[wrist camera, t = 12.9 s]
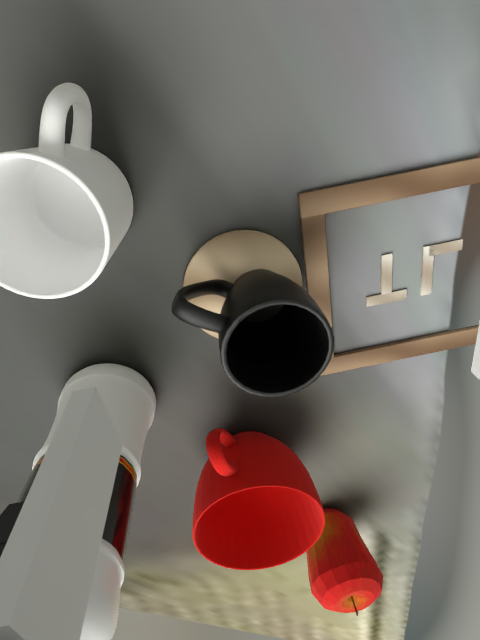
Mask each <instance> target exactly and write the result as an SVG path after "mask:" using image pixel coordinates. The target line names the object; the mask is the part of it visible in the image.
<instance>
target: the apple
mask: <svg viewBox="0 0 480 640" xmlns="http://www.w3.org/2000/svg"><path fill="white" fill-rule="evenodd" d="M324 513H325V525H324V529H323V532H322V534H321V536H320V537H319V539H318V540H317V541H316V543H315V544H314V545H313V546H312V547H311V548H310V549H308V550H307V551H306V552H307V561H308V574H309V581H310V586H311V591H312V594H313V595H314V596H315V598H316V599H317V600H318V601H319V602H320V604H321V605H322V606H323V607H324V608H325V609H328V610H331V611H336V612H344V613H350V612H356V615H357V616H358V611H360V610H363V609H365V608H366V607H368V606H369V605H371V604H372V603H373V602H374V601H375V600H376V599H377V598H378V597H379V596H380V594H381V591H382V581H383V575H382V573H381V571H380V569H379V567H378V565H377V563H376V561H375V560H374V558H373V557H372V555H371V554H370V552H369V550H368V548H367V547H366V545H365V543H364V542H363V540H362V538H361V536H360V534H359V532H358V530H357V528H356V526H355V524H354V522H353V520H352V518H350V517H349V516H347V515H346V514H344V513H342V512H341V511H339V510H337V509H333V508H325V509H324Z"/></svg>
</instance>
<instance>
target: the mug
mask: <svg viewBox="0 0 480 640" xmlns="http://www.w3.org/2000/svg"><path fill="white" fill-rule="evenodd" d="M204 295H218V296H222V297H224V298H226V299H225V301H224V304H223V306H222V309H221V313H220V314H218V313H215V312H212V311H209V310H206V309H203V308H201V307H199V306H196V305H194V304H192V303H190V302H189V301H188V300H190V299H193V298H196V297H200V296H204ZM172 313H173V314H174V316H176V317H177V318H179V319H180V320H182V321H184V322H186V323H188V324H190V325H193V326H196V327H199V328H202V329H205V330H209V331H212V332H216V333H218V337H219V347H220V357H221V363H222V366H223V368H224V371H225V373H226V374H227V375H228V377H229V378H230V380H231V381H232V382H233V383H234V384H236V385H237V386H238V387H239V388H240V389H242V390H244V391H247V392H249V393H251V394H255V395H258V396H265V397H277V396H285V395H289V394H292V393H295V392H298V391H300V390H302V389H304V388H306V387H307V386H309V385H310V384H311V383H313V382H314V381H315V380H317V379H318V377H319V376H320V375H321V374H322V373H323V372H324V371H325V369H326V367H327V366H328V364H329V362H330V360H331V357H332V354H333V349H334V336H333V331H332V327H331V325H330V323H329V321H328V320H327V318H326V316H325V315H324V313H323V312H322V310H321V309H320V307H319V306H318V304H317V303H316V302H315V300H314V299H313V298H312V297H311V296H310V295H309V294H308V293H307V292H306V291H305V290H304V289H303V288H302V287H301V286H299V285H298V284H297V283H295V282H293V281H292V280H290V279H289V278H287V277H285V276H283V275H280V274H277V273H275V272H273V271H270V270H265V269H256V270H252V271H248V272H246V273H244V274H243V275H241V276H240V277H239V278H238V279H237V280H236V281H235V282H234V284H233V283H231V282H229V281H226V280H221V279H214V280H208V281H203V282H198V283H194V284H191V285H187V286H185V287H183V288H182V289H180V290H179V291H178V292H177V294H176V296H175V298H174V300H173V303H172Z"/></svg>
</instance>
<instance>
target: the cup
mask: <svg viewBox="0 0 480 640" xmlns="http://www.w3.org/2000/svg"><path fill="white" fill-rule="evenodd" d="M71 105H73V128H72V135H71V142H70V144H65V126H66V118H67V113H68V110H69V108H70V106H71ZM91 134H92V111H91V105H90V101H89V98H88V96H87V94H86V92H85V91H84V90H83V89H82V88H81V87H80V86H78V85H76V84H74V83H63V84H60V85H58V86H56V87H55V88H54V89H53V90H52V91H51V92H50V94H49V95H48V97H47V98H46V101H45V103H44V106H43V110H42V115H41V121H40V131H39V147H35V148H28V149H21V150H15V151H8V152H2V153H0V286H2V287H4V288H6V289H8V290H10V291H12V292H15V293H18V294H21V295H24V296H28V297H33V298H42V299H54V298H62V297H66V296H70V295H73V294H75V293H78V292H80V291H82V290H83V289H85V288H86V287H88V286H89V285H90V284H92V283H93V282H94V281H95V280H96V279H97V277H98V276H99V275H100V273H101V272H102V270H103V269H104V267H105V266H106V264H107V263H108V261H109V259H110V258H111V256H112V255H113V253H114V252H115V250H116V249H117V247H118V245H119V244H120V242H121V241H122V239H123V238H124V236H125V234H126V233H127V231H128V229H129V227H130V224H131V221H132V217H133V198H132V193H131V189H130V187H129V184H128V182H127V180H126V178H125V176H124V175H123V173H122V172H121V171H120V169H119V168H118V167H117V166H116V165H115V164H114V163H113V162H112V161H111V160H110V159H109V158H108V157H106V156H105V155H103V154H102V153H100V152H98V151H96V150H94V149H92V148H91Z"/></svg>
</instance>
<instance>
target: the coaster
mask: <svg viewBox="0 0 480 640" xmlns="http://www.w3.org/2000/svg"><path fill="white" fill-rule="evenodd" d="M256 269H265V270H270V271H273V272H275V273H277V274H280V275H283V276H285V277H287V278H289V279H290V280H292V281H293V282H295V283H297V284H298V285H299V286H301V287H302V275H301V271H300V268H299V265H298V263H297V261H296V259H295V257H294V256H293V254H292V253H291V251H290V250H289V249H288V248H287V247H286V246H285V245H284V244H283V243H282V242H280V241H279V240H278V239H276V238H274V237H273V236H271V235H268V234H266V233H263V232H259V231H254V230H235V231H230V232H226V233H223V234H221V235H218V236H216V237H214V238H213V239H211V240H209V241H208V242H207V243H205V244H204V245H203V246H202V247H201V248H200V249H199V250H198V251H197V252H196V253H195V255H194V256H193V257H192V259H191V261H190V262H189V264H188V267H187V269H186V272H185V276H184V284H183V287H185V286H187V285H191V284H194V283H198V282H203V281H208V280H214V279H221V280H226V281H229V282H231V283H233V284H234V282H235V281H236V280H237V279H238V278H239V277H240V276H241V275H243V274H244V273H246V272H248V271H252V270H256ZM225 299H226V298H224V297H222V296H218V295H204V296H200V297H196V298H193V299H190V300H188V301H189V302H190V303H192V304H194V305H196V306H199V307H201V308H203V309H206V310H209V311H212V312H215V313H218V314H220V313H221V309H222V306H223V304H224V301H225ZM201 329H202V328H201ZM202 330H204V331H205V332H206V333H208V334H210V335H211V336H214V337H216V338H218V339H219V337H218V333H216V332H212V331H209V330H205V329H202Z"/></svg>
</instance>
